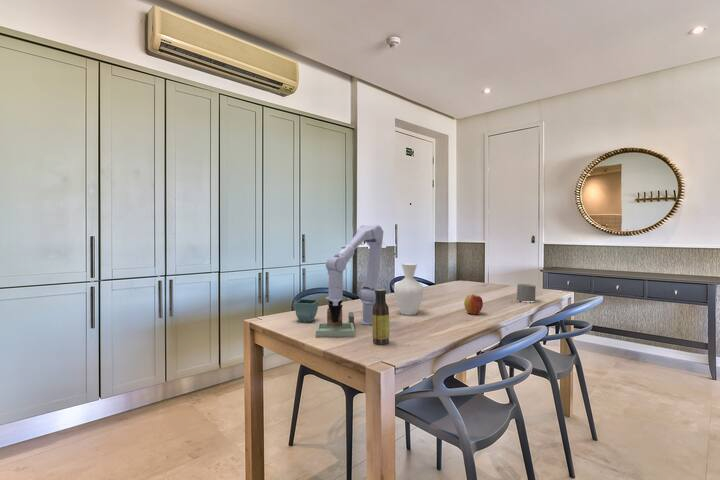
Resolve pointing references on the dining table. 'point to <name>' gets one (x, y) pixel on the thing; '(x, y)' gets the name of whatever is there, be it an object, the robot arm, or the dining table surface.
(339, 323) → the brown block
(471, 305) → the apple
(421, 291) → the vase
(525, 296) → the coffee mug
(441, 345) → the dining table surface
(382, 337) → the sauce bottle
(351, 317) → the block
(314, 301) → the flower pot
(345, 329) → the tray
